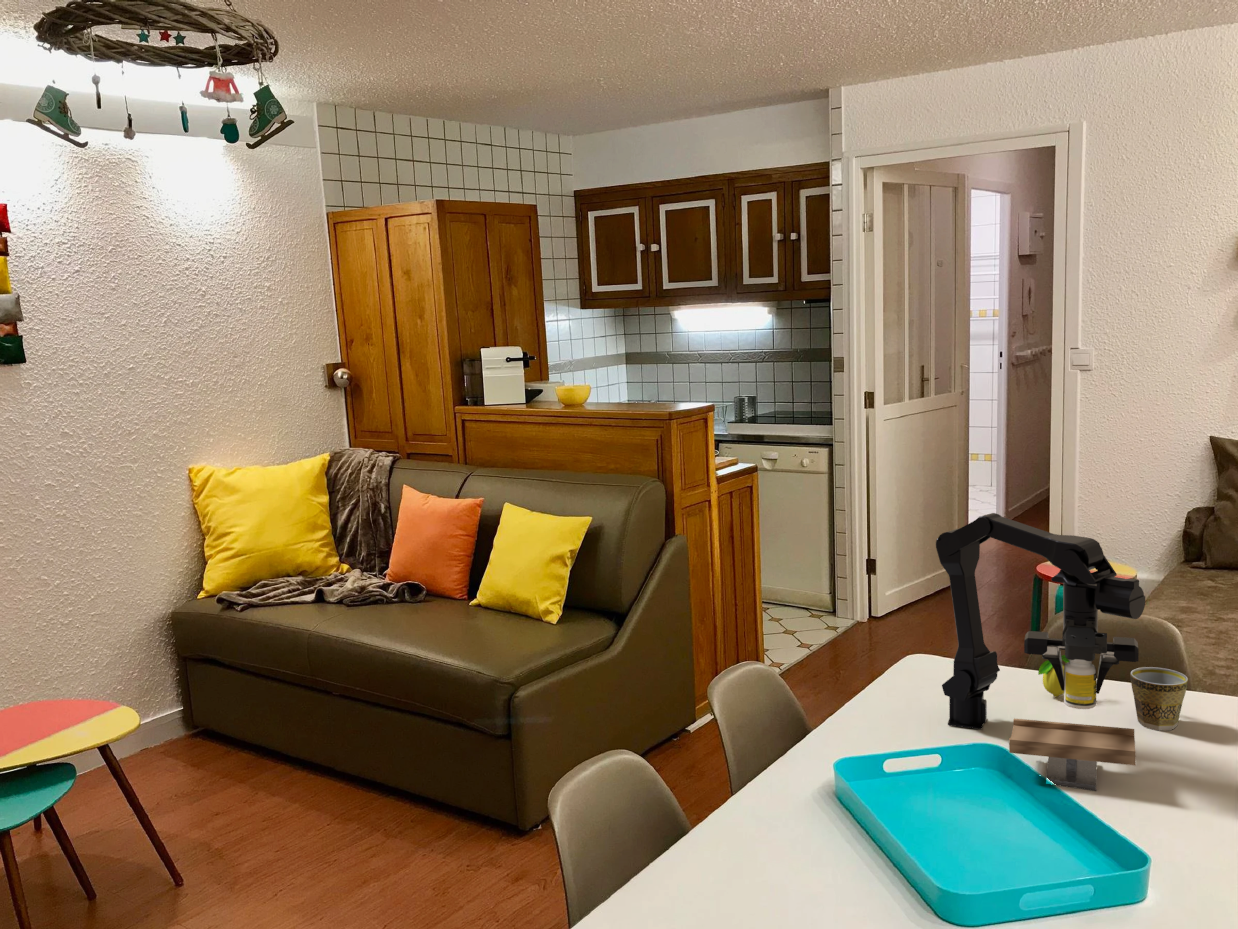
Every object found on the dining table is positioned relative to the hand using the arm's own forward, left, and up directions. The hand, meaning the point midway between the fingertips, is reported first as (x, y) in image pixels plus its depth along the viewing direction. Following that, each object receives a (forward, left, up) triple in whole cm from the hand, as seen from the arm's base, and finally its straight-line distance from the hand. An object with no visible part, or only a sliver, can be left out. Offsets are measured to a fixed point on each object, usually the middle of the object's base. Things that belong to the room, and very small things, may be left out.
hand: (1080, 691), depth 187 cm
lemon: (-5, +31, -13) cm, 34 cm away
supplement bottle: (0, 0, -3) cm, 3 cm away
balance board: (-1, -7, -8) cm, 11 cm away
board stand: (-1, -7, -13) cm, 15 cm away
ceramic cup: (+13, +23, -13) cm, 29 cm away
